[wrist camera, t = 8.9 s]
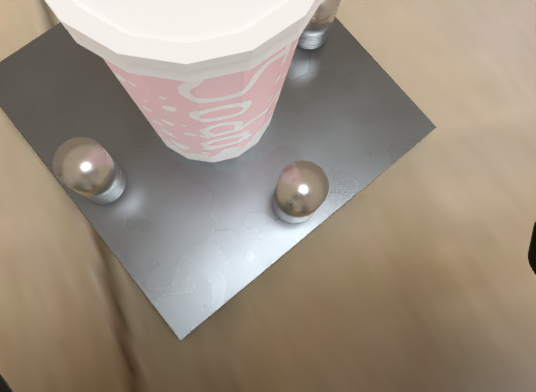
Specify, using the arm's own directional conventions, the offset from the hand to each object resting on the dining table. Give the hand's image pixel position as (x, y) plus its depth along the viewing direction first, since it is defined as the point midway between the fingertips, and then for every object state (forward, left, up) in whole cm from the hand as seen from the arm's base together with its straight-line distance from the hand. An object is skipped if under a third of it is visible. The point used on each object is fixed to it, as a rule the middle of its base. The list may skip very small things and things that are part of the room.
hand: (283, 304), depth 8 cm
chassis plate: (+3, +7, -10) cm, 12 cm away
